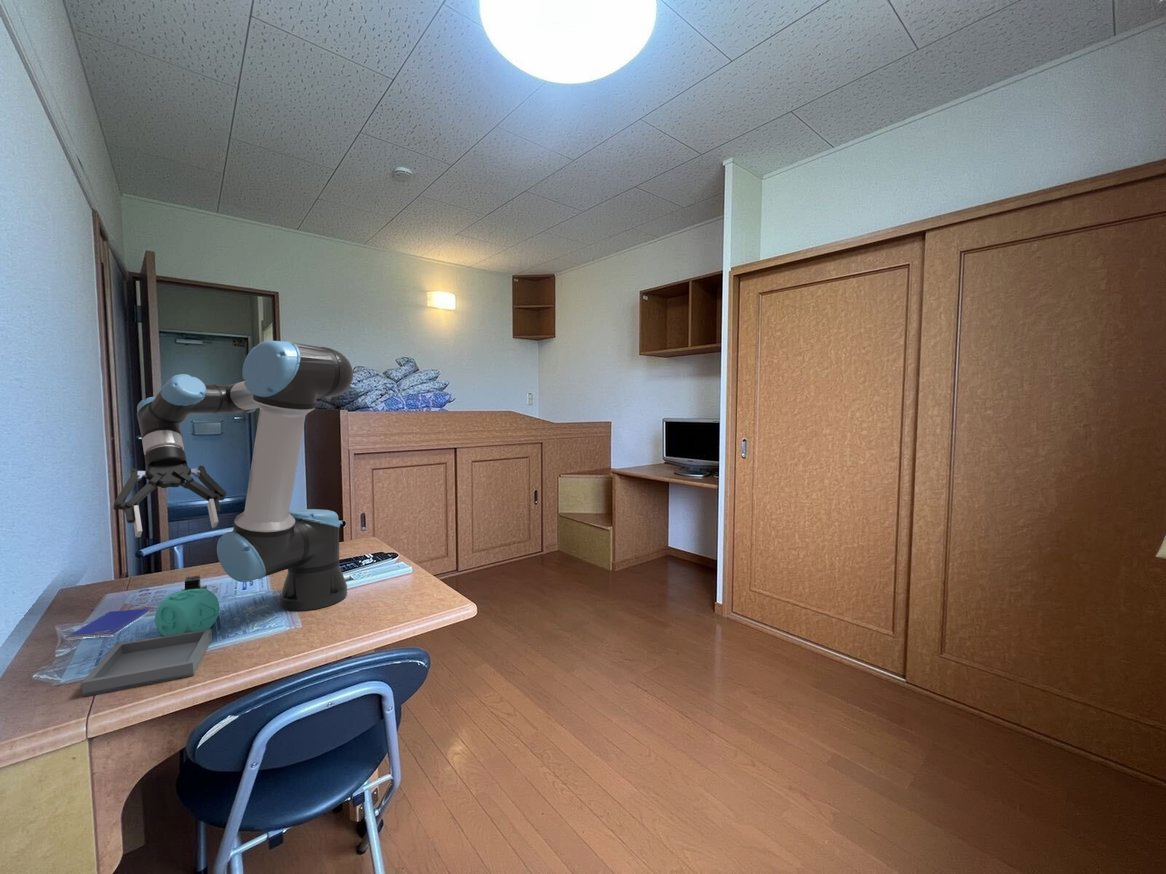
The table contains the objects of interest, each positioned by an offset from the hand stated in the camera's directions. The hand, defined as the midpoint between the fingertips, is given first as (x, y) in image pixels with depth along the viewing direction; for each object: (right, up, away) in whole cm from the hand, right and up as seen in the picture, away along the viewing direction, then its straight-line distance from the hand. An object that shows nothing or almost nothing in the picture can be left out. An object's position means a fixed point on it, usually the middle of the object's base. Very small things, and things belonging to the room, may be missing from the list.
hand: (179, 529), depth 110 cm
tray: (+11, -22, -18) cm, 31 cm away
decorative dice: (+6, -22, -4) cm, 23 cm away
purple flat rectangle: (-13, -22, -2) cm, 26 cm away
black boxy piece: (-10, -21, +16) cm, 28 cm away
